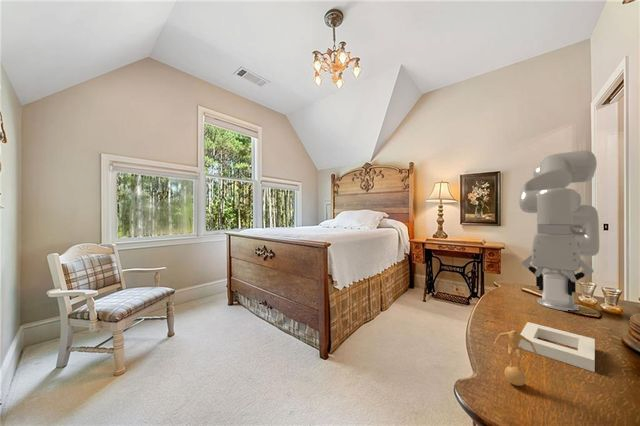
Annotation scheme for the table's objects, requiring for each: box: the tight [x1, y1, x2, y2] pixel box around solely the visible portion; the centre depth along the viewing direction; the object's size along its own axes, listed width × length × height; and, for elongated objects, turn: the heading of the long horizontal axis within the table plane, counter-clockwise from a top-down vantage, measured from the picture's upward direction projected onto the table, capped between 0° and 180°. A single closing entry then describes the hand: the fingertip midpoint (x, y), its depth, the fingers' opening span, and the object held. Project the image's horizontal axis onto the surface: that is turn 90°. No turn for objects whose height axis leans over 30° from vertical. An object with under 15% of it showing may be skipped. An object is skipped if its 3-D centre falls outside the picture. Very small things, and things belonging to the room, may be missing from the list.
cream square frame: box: [518, 321, 596, 373], centre depth 71 cm, size 15×15×3 cm
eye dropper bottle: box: [541, 269, 569, 303], centre depth 71 cm, size 4×6×12 cm
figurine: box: [493, 329, 539, 387], centre depth 58 cm, size 8×6×12 cm
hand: (555, 291), depth 71 cm, fingers closed on eye dropper bottle, 5 cm apart
